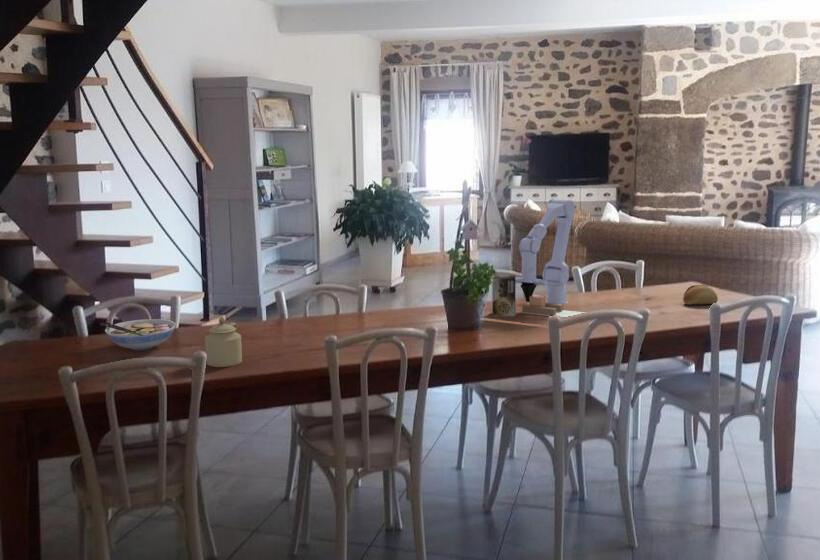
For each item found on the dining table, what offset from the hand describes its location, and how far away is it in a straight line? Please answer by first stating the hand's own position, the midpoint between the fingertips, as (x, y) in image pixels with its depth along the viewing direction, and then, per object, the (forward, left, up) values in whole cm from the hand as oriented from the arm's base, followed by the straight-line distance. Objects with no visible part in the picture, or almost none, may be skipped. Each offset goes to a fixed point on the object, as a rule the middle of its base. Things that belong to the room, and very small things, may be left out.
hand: (528, 301), depth 302 cm
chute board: (0, +12, -4) cm, 12 cm away
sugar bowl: (+110, -58, -5) cm, 125 cm away
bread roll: (-48, +57, -5) cm, 74 cm away
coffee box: (+12, -5, -5) cm, 14 cm away
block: (0, +4, -3) cm, 5 cm away
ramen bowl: (+112, -94, -5) cm, 147 cm away
